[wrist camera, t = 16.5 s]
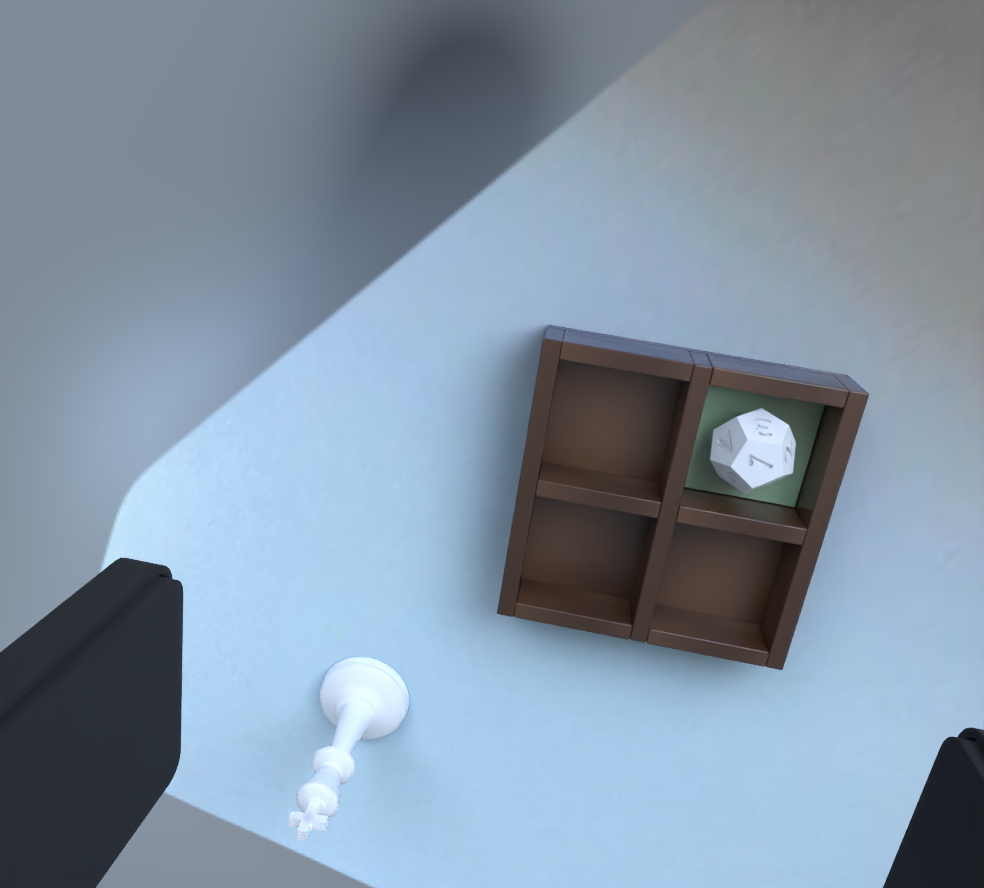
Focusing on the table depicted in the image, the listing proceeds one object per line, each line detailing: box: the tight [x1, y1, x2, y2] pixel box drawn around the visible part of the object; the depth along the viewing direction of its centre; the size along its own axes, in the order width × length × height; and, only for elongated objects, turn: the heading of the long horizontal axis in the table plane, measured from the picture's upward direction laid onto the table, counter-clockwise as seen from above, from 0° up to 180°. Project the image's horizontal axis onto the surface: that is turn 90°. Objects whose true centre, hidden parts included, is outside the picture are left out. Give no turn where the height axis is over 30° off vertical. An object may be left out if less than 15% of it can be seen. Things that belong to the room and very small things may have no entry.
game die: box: [710, 408, 796, 494], centre depth 35 cm, size 4×4×3 cm
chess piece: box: [288, 657, 409, 840], centre depth 40 cm, size 5×5×10 cm
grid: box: [497, 325, 869, 670], centre depth 37 cm, size 13×13×3 cm
